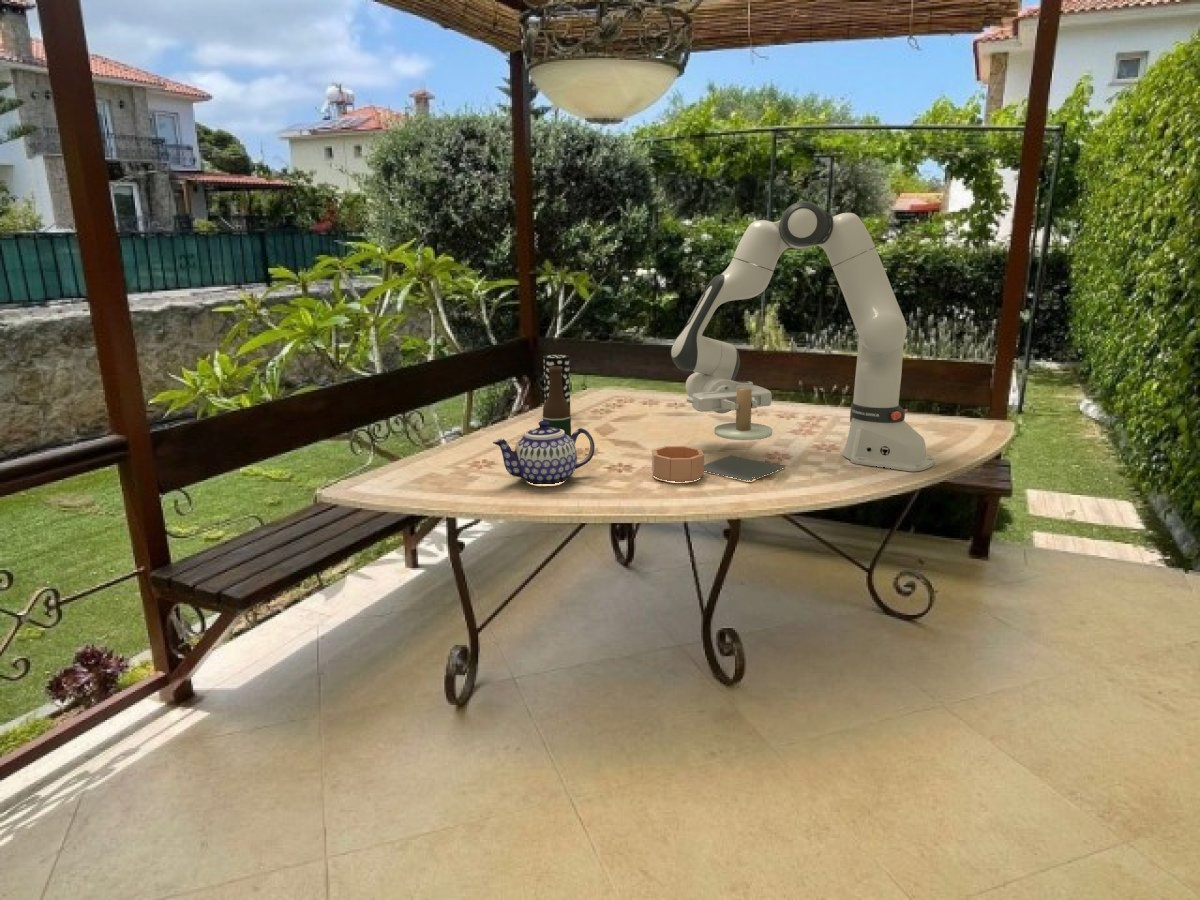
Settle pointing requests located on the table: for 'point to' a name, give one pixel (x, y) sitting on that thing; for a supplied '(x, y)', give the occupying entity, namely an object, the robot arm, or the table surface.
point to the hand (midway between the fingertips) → (745, 405)
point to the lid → (743, 421)
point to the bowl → (677, 463)
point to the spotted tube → (564, 364)
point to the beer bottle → (557, 403)
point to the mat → (740, 468)
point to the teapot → (544, 454)
